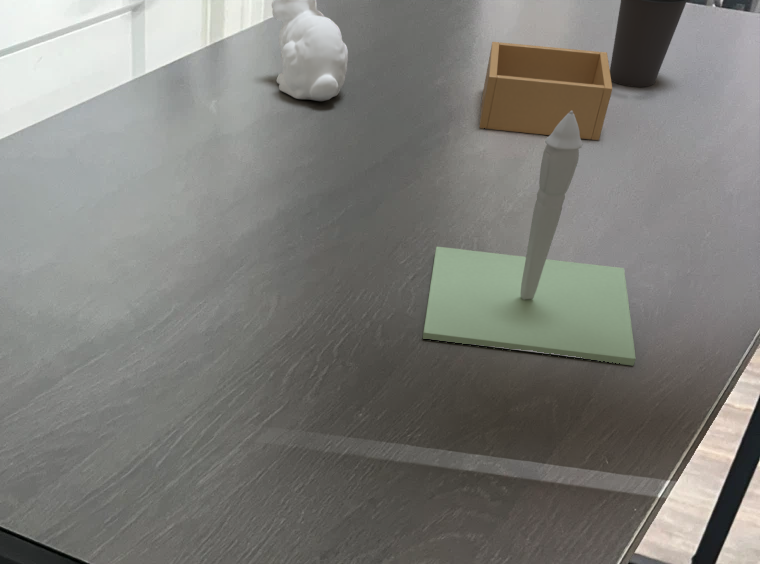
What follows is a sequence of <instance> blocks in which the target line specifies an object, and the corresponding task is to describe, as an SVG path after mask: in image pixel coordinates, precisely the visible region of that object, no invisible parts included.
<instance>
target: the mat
mask: <svg viewBox="0 0 760 564" xmlns="http://www.w3.org/2000/svg"><path fill="white" fill-rule="evenodd" d="M525 261H526V256H522V255H514V254H513V255H512V254H507V253H506V254H505V253H497V252H487V251H479V250H470V249H462V248H455V247H454V248H453V247H443V246H436V247H435V252H434V258H433V265H432V272H431V278H430V285H429V291H428V297H427V298H428V299H427V305H426V311H425V319H424V325H423V332H422V338H423V339H433V340H440V341H448V342H455V343H462V344H461V345H463V344H476V345H484V346H495V347H504V348H509V349H521V350H533V351H537V352H544V353H549V354H551V353H554V354H560V355H568V356H576V357H580V358H581V357H582V358H585V359H591V360H598V361H597V362H599V361H601V363H607V362H609V363H610V364H615V363H616V365H625V366H631V367H633V366H634V365H635V363H636V351H635V342H634V336H633V326H632V320H631V319H632V318H631V311H630V303H629V295H628V287H627V281H626V280H627V279H626V271H625V267H618V266H610V265H609V266H608V265H600V264H593V263H592V264H590V263H583V262H573V261H566V260H565V261H564V260H556V259H547V258H546V261H545V264H544V267H543V270H542V274H541V277H540V281H539V284H538V287H537V290H536V293H535V295H534V298H533V299H528V300H523V299H522V298H521V283H522V277H523V272H524V266H525ZM423 339H422V340H423ZM455 343H454V344H455ZM591 360H590V361H591ZM603 361H605V362H603ZM612 362H613V363H612ZM619 363H620V364H619Z"/></svg>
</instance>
